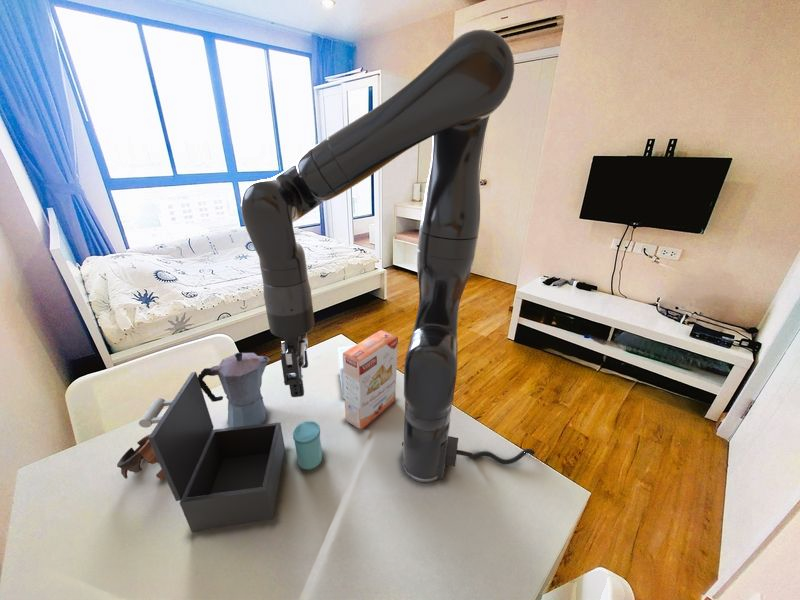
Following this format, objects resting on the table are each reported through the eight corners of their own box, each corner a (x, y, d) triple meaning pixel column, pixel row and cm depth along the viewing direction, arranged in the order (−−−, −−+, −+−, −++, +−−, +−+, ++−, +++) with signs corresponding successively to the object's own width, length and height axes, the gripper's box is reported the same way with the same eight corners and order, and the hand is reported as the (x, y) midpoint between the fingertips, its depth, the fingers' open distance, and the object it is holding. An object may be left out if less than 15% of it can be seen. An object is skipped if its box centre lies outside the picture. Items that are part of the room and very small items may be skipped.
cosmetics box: (339, 375, 98) (337, 346, 93) (360, 372, 99) (359, 344, 95) (342, 399, 88) (339, 368, 84) (365, 395, 90) (364, 365, 85)
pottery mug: (152, 497, 63) (118, 473, 60) (139, 488, 69) (107, 466, 66) (203, 442, 71) (175, 418, 68) (187, 438, 77) (161, 416, 74)
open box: (285, 450, 73) (280, 422, 69) (273, 521, 59) (265, 490, 55) (221, 458, 71) (212, 429, 67) (192, 534, 57) (179, 502, 53)
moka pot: (283, 421, 81) (272, 355, 72) (214, 449, 73) (193, 378, 64) (273, 398, 88) (262, 336, 79) (209, 422, 80) (189, 355, 71)
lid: (196, 371, 61) (165, 374, 60) (153, 437, 47) (113, 442, 46) (213, 427, 67) (186, 430, 66) (181, 500, 53) (146, 505, 52)
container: (327, 453, 72) (324, 423, 69) (316, 475, 68) (312, 444, 64) (305, 448, 74) (301, 418, 70) (292, 468, 69) (287, 438, 65)
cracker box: (362, 432, 78) (359, 362, 69) (344, 421, 81) (340, 352, 72) (397, 401, 88) (399, 335, 79) (380, 391, 91) (380, 328, 83)
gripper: (308, 322, 49) (318, 404, 55) (314, 286, 61) (322, 357, 68) (256, 325, 47) (273, 409, 54) (273, 289, 60) (285, 360, 67)
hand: (300, 380), depth 61 cm, fingers open, 8 cm apart
